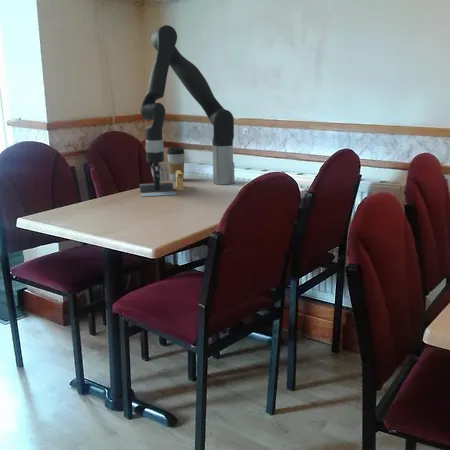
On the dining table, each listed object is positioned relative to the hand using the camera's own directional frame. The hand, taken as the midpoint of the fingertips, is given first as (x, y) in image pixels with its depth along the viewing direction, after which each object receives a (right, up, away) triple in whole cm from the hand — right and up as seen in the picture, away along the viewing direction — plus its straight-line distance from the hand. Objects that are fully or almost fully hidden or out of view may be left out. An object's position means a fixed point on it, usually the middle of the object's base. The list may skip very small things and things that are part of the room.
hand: (156, 187), depth 248 cm
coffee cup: (+7, +5, +24) cm, 26 cm away
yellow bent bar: (+10, 0, +3) cm, 10 cm away
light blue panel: (+2, -3, -9) cm, 10 cm away
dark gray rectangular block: (0, -1, 0) cm, 2 cm away
